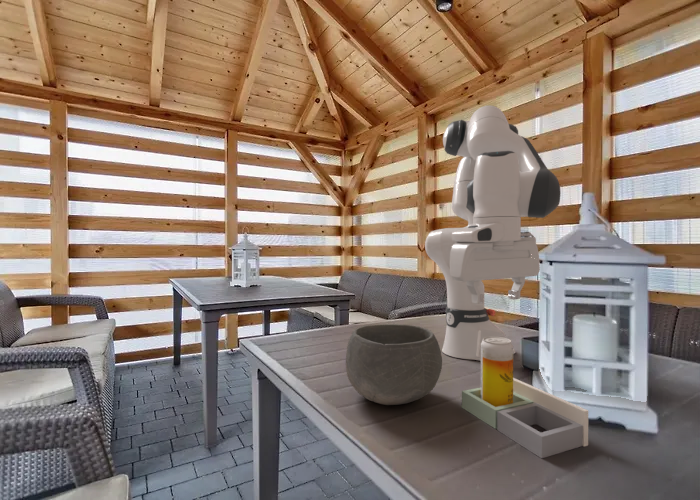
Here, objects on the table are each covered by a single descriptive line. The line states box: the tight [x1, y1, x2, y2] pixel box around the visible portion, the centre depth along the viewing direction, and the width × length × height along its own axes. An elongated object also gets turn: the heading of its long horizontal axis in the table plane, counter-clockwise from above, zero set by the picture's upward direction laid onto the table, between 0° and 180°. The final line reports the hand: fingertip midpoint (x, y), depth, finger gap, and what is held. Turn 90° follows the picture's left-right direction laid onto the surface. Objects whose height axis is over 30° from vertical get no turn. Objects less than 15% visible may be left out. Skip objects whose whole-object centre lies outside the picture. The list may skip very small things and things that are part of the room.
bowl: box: [345, 323, 443, 406], centre depth 81 cm, size 21×21×15 cm
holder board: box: [461, 377, 589, 459], centre depth 70 cm, size 10×20×6 cm, turn 22°
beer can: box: [480, 336, 514, 407], centre depth 74 cm, size 6×6×15 cm
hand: (496, 301), depth 74 cm, fingers open, 8 cm apart
